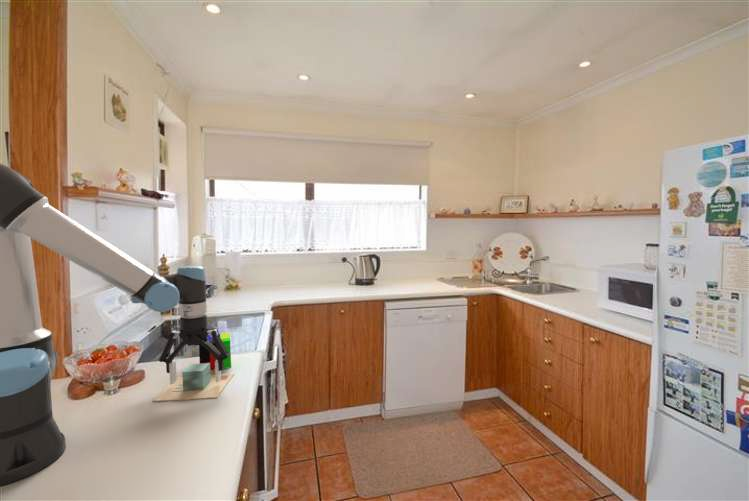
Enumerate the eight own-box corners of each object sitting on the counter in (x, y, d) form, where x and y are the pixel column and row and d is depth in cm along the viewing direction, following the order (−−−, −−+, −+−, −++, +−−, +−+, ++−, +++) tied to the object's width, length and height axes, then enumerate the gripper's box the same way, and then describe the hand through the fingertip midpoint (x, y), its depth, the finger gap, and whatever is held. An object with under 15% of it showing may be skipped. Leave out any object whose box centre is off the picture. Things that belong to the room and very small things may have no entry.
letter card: (152, 401, 98) (152, 400, 98) (178, 377, 114) (178, 376, 114) (217, 397, 100) (217, 396, 100) (233, 374, 116) (233, 373, 116)
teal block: (183, 390, 104) (182, 372, 104) (191, 382, 110) (190, 364, 110) (203, 389, 105) (202, 370, 104) (210, 381, 111) (209, 363, 110)
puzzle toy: (201, 362, 127) (200, 336, 127) (230, 357, 131) (229, 332, 131) (200, 372, 118) (198, 344, 117) (231, 367, 122) (230, 340, 121)
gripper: (144, 319, 100) (147, 389, 102) (231, 317, 103) (233, 384, 105) (157, 313, 108) (160, 378, 109) (238, 311, 111) (240, 374, 112)
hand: (196, 381), depth 107 cm, fingers open, 13 cm apart
